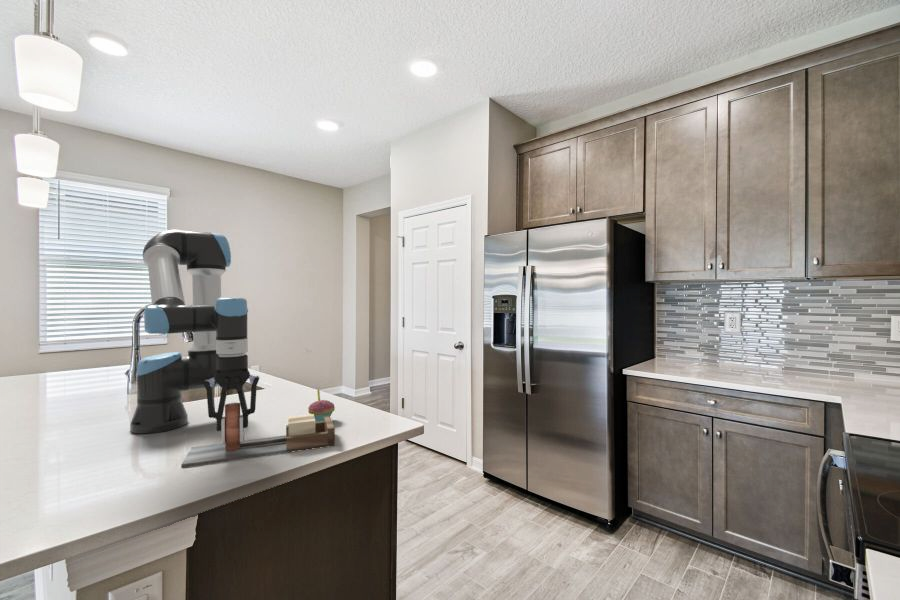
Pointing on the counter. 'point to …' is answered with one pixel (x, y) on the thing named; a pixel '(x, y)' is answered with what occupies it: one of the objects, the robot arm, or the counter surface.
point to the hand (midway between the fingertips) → (232, 440)
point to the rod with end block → (295, 425)
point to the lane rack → (264, 446)
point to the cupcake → (321, 408)
